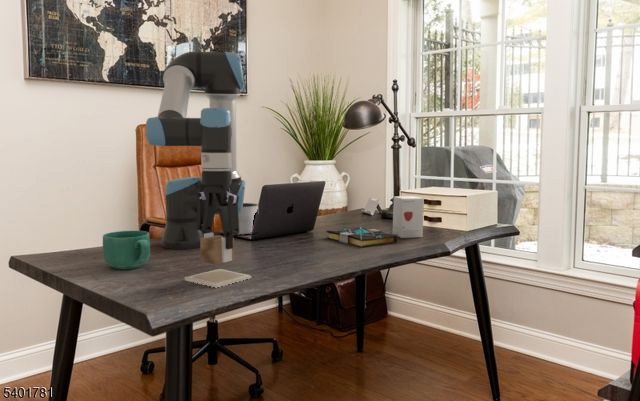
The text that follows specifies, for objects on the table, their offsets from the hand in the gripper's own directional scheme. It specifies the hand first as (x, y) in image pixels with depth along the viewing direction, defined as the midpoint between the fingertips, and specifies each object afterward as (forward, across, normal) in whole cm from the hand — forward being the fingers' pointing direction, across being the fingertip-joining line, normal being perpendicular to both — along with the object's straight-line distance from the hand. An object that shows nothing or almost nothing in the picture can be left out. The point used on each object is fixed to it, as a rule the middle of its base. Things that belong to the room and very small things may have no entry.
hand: (217, 259), depth 138 cm
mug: (+5, -29, -6) cm, 31 cm away
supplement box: (+5, +7, +90) cm, 90 cm away
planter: (+5, -47, +54) cm, 72 cm away
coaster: (+5, 0, 0) cm, 5 cm away
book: (+6, -2, +70) cm, 70 cm away
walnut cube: (0, 0, 0) cm, 0 cm away
